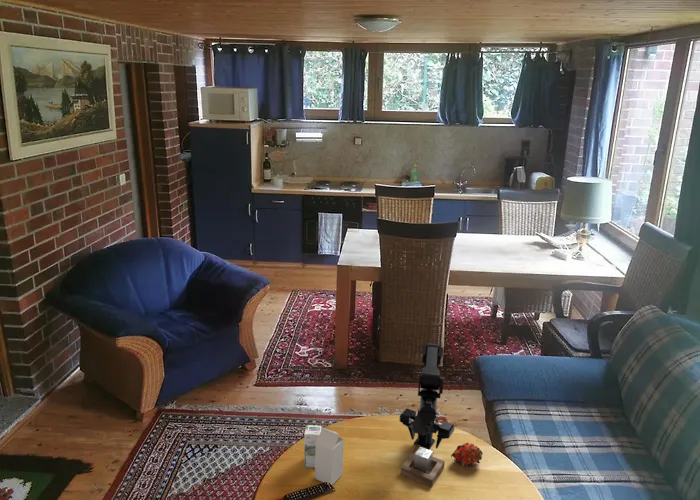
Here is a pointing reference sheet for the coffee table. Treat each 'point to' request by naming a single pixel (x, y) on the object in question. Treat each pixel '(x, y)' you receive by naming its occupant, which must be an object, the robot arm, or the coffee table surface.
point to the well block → (420, 476)
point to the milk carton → (328, 456)
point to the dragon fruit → (467, 454)
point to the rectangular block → (423, 460)
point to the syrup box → (310, 445)
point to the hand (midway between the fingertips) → (424, 443)
